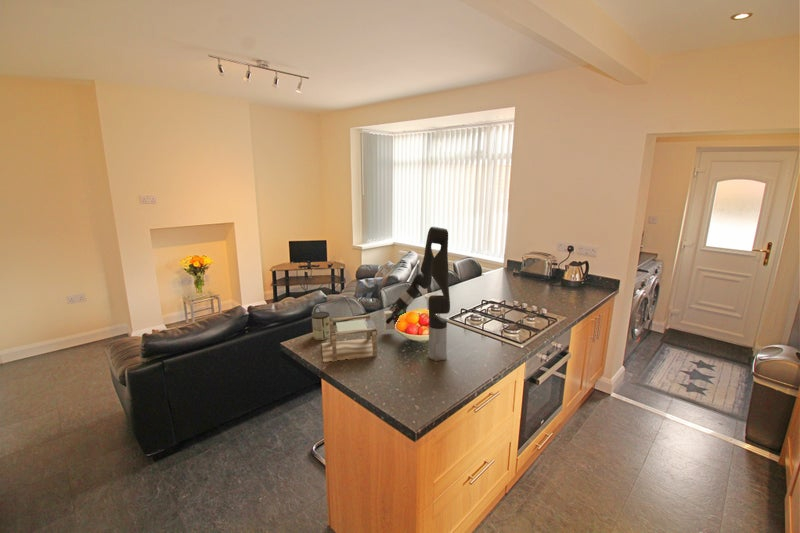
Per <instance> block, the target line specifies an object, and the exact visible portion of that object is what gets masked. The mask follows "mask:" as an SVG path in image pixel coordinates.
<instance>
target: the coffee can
mask: <svg viewBox="0 0 800 533" xmlns="http://www.w3.org/2000/svg"><path fill="white" fill-rule="evenodd" d="M329 319H330V312H328V311H316V312H313V313H312V314H311V321H312V334H313V339H314V340H317V341H319V340H320V341H321V340H322V341H323V340H327V339H330V325H329Z"/></svg>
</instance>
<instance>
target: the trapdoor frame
mask: <svg viewBox="0 0 800 533" xmlns="http://www.w3.org/2000/svg"><path fill="white" fill-rule="evenodd" d="M363 318H365V320H371V316H370V314H365V315H363V314H362V315H354V316H351V315H350V316H344V317H342V316H341V317H333V318H329V325H330V337H329V339H330V342H323V343H322V342H321V351H322V352H321V353H322V354H321V355H322V363H323V362H324V363H329V361H332V362H338V361H337V360H340V361H346V360H345V359H348V360H354V359H355V358H356V359H362V358H363V359H364V358H370V357H377V356H378V345H377V335H376V329H377V327H376V328H370V329H360V330H351V331H341V332H338V331H334V330H335V329H334V322H341V321H351V320H361V319H363ZM368 332H372V336H370V335H369V333H368ZM362 333H363V334H364V333H366V337H365V338H356V339H347V340H341V341H339V340H338V341H337V336H341V335H343V336H344V335H352V334H362Z"/></svg>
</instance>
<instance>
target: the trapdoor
mask: <svg viewBox="0 0 800 533" xmlns="http://www.w3.org/2000/svg"><path fill="white" fill-rule="evenodd" d="M335 325H336V332H341V331H351V330H360V329H370V328H376V336H378V329H377V327H376V325H375V322H374V320H373V319H370V320H366V318H360V319H352V320H344V321H336V322H335ZM368 333H369V335H370V336H371V337H372V332H368Z"/></svg>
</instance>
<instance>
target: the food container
mask: <svg viewBox="0 0 800 533" xmlns="http://www.w3.org/2000/svg"><path fill="white" fill-rule="evenodd" d="M393 305H394V306H395V304H393V303H391V304H390V305H389V309H390V308H391V307H392V306H393ZM407 310H408V307H407V308H406V309H405V310H403V309H402V310H401V311H400V313H401V315H402V314H404V313H406V314H407ZM398 318H399V316H398V317H397V318H396V319H395V320H394V322H398V321H397V320H398Z"/></svg>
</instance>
